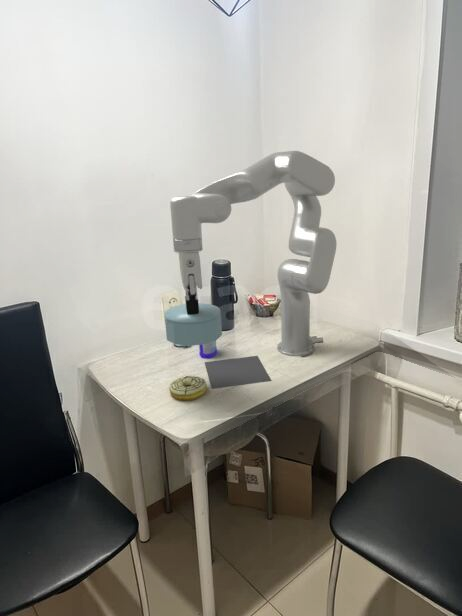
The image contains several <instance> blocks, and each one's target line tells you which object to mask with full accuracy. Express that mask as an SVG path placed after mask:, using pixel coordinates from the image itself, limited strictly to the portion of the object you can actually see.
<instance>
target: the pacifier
mask: <svg viewBox="0 0 462 616" xmlns="http://www.w3.org/2000/svg"><path fill="white" fill-rule="evenodd" d="M176 346H177V347H176ZM171 348H172V349H175V350H184V349H185V348H186V345H177V344H174V343H172V344H171Z"/></svg>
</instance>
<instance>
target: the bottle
mask: <svg viewBox="0 0 462 616" xmlns="http://www.w3.org/2000/svg"><path fill="white" fill-rule="evenodd" d="M217 351H218V349H217V340H215V341H213V342H210V343H207V344H202V345H198V352H199V357H200V358H203V359H211V358H213V357H215V356H216V354H217Z"/></svg>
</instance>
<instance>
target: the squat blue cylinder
mask: <svg viewBox="0 0 462 616" xmlns="http://www.w3.org/2000/svg"><path fill="white" fill-rule="evenodd" d="M185 296H186V300H187V295H186V294H185ZM198 304H199V314H191V315H188V314H187V305H186V303H184V304H179V305H175V306H173V307H170V308H168V309H167V310H165V311H164V313H163V315H164V322H165V323H164V324H165V334H166V341H168V342H170V343H172V344H177V345H186V346H187V347H192V346H199V345H202V344H207V343H210V342H213V341H215V340H216V341H218V339H219V338H221V336H223V326H222V314H221V308H220V307H218V306H217V305H214V304H210V303H201V302H198ZM186 346H185V347H186Z"/></svg>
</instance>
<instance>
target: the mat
mask: <svg viewBox="0 0 462 616" xmlns="http://www.w3.org/2000/svg"><path fill="white" fill-rule="evenodd" d="M204 365H205V370H206V374H207V377H208V381H209V384H210V385H209V386H210V389H211V390H213V389H220V388H228V387H237V386H243V385H251V384H258V383H259V384H260V383H266V382H272V381H273V380H272V378H271V377H270V375H269V373H268V371H267V370H266V368H265V366H264V364H263V362H262V361H261V359H260V358H259V356H258V355H253V356H252V355H251V356H244V357H237V358H227V359H219V360H213V361H212V360H211V361H205V362H204Z"/></svg>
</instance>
